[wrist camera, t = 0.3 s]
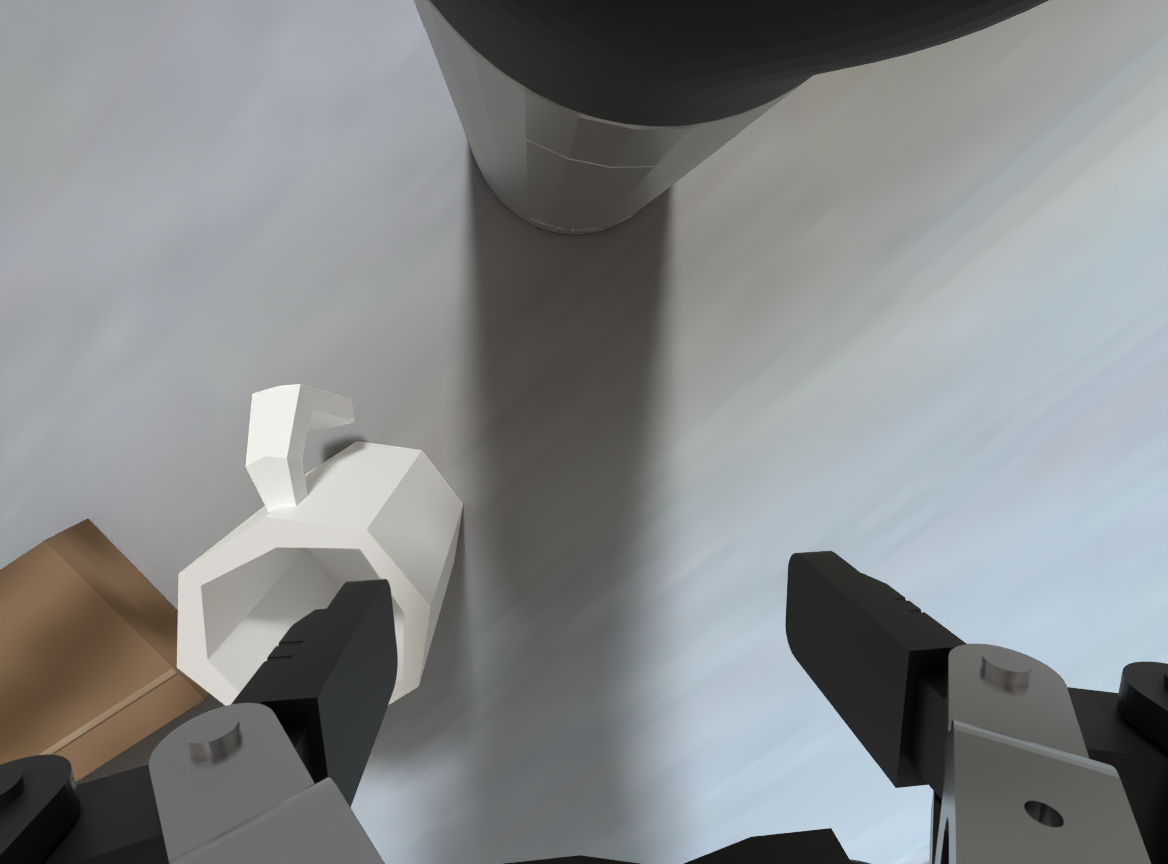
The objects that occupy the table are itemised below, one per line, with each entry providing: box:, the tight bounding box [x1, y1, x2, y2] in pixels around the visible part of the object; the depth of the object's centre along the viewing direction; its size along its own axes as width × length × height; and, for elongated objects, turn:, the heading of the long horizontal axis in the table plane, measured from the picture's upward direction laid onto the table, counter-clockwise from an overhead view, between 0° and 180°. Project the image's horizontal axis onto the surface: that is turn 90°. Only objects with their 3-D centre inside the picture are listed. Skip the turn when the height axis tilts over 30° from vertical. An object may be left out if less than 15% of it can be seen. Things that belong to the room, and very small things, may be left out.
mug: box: [177, 384, 463, 706], centre depth 23 cm, size 12×9×10 cm
